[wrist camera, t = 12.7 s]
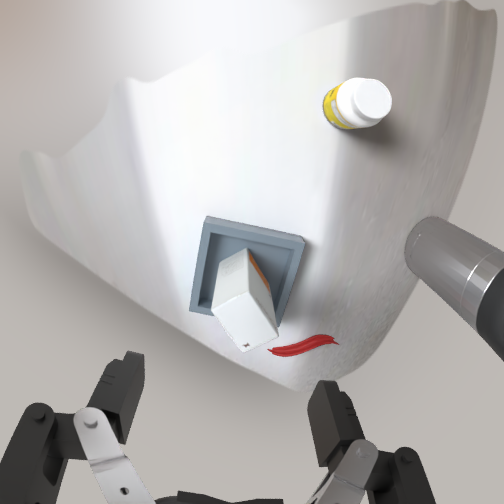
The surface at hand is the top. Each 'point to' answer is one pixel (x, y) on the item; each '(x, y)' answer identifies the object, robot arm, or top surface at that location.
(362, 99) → the supplement bottle
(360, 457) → the robot arm
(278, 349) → the cayenne pepper
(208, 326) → the top surface
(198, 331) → the top surface
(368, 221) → the top surface
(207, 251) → the tray
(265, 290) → the skincare box
